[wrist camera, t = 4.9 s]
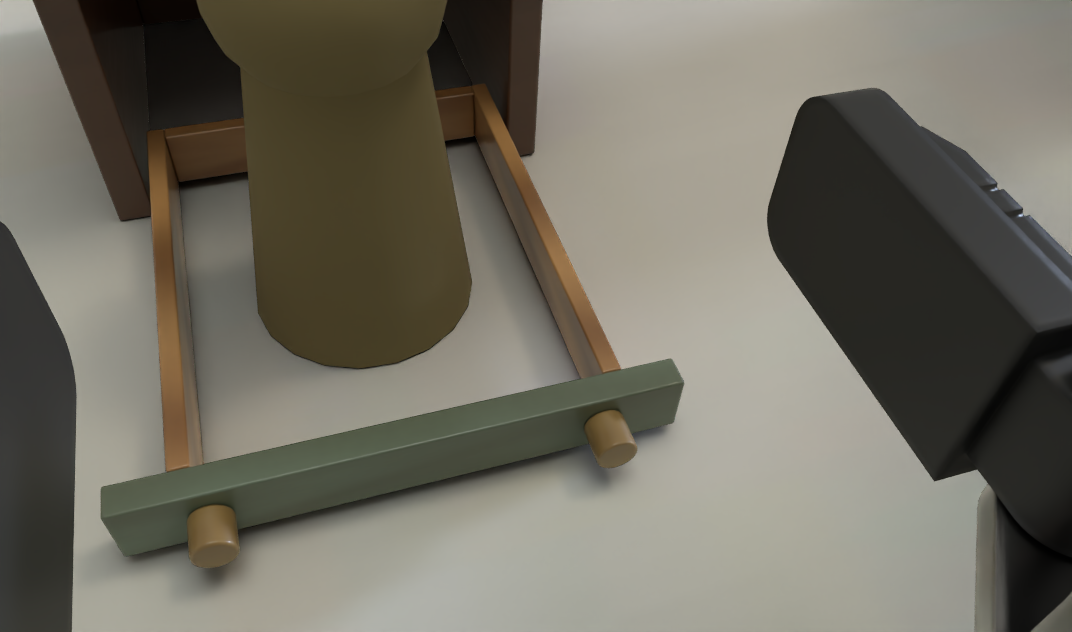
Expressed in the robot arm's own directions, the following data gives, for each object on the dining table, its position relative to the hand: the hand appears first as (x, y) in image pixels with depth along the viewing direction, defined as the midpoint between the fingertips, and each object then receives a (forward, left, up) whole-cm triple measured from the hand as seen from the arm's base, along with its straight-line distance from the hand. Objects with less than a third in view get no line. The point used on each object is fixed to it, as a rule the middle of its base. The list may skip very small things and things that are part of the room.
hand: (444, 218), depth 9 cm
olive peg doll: (-7, -9, -13) cm, 17 cm away
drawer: (-6, -8, -12) cm, 16 cm away
